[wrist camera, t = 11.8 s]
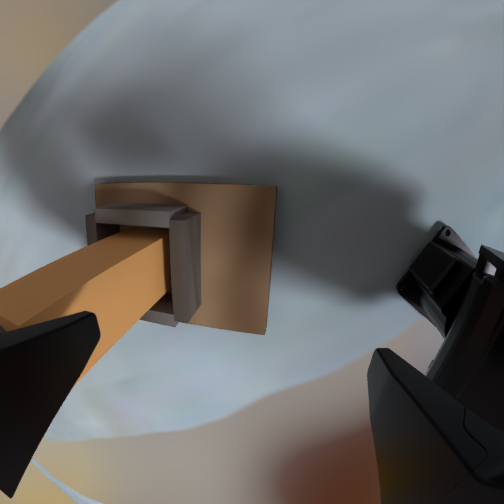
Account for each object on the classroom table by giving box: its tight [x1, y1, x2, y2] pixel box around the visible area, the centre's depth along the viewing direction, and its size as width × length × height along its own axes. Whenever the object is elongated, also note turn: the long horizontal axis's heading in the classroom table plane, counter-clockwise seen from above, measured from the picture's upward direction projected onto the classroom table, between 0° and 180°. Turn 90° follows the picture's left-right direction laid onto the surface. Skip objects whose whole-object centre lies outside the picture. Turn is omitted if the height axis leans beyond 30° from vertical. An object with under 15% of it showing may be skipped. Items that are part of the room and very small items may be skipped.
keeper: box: [85, 182, 277, 335], centre depth 20 cm, size 14×11×4 cm
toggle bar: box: [0, 228, 172, 387], centre depth 14 cm, size 4×4×16 cm
